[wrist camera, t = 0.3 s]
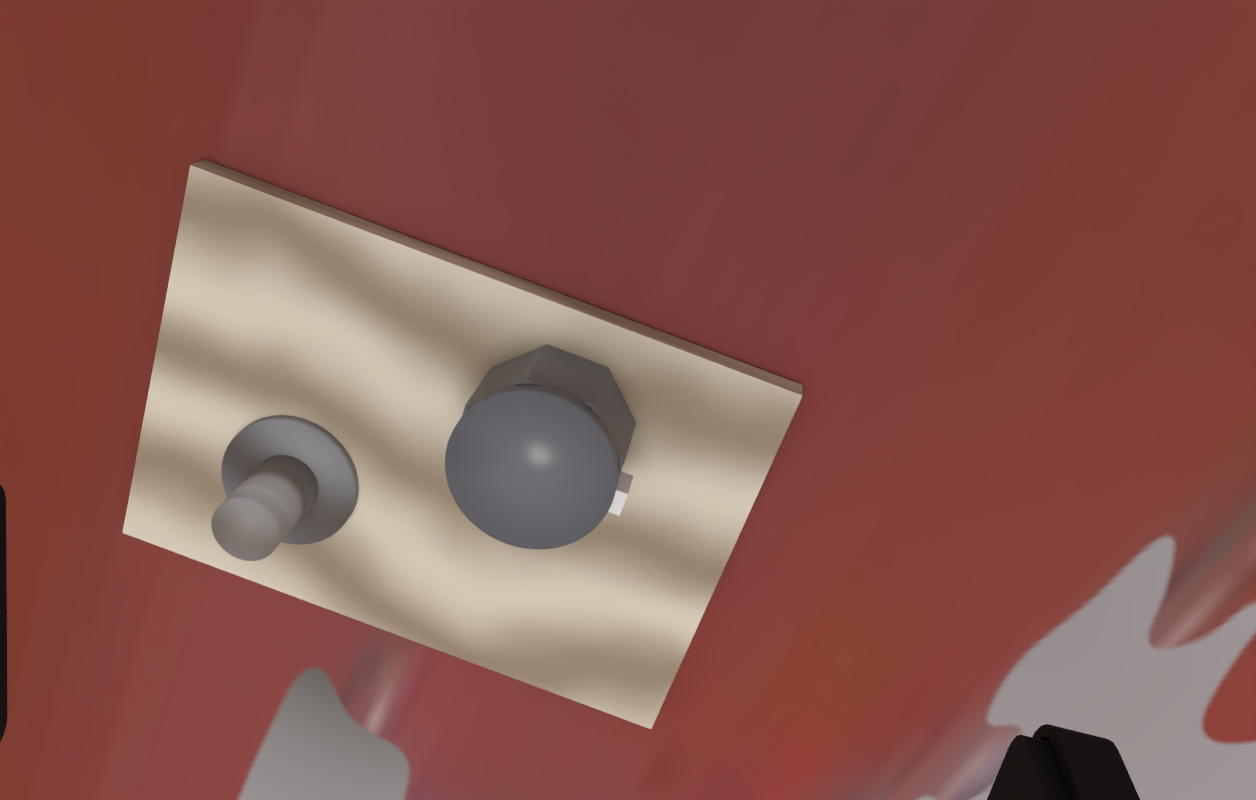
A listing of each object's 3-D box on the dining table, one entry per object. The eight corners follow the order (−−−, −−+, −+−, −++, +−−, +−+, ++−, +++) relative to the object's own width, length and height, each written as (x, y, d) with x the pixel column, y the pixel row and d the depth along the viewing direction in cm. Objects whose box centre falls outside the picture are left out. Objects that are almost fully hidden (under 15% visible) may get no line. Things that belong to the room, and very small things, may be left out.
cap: (502, 324, 45) (471, 366, 41) (665, 385, 45) (652, 433, 41) (458, 461, 48) (425, 513, 43) (612, 519, 48) (595, 577, 44)
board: (204, 159, 46) (125, 189, 40) (802, 384, 46) (804, 444, 40) (136, 520, 53) (60, 587, 47) (653, 712, 53) (638, 801, 47)
